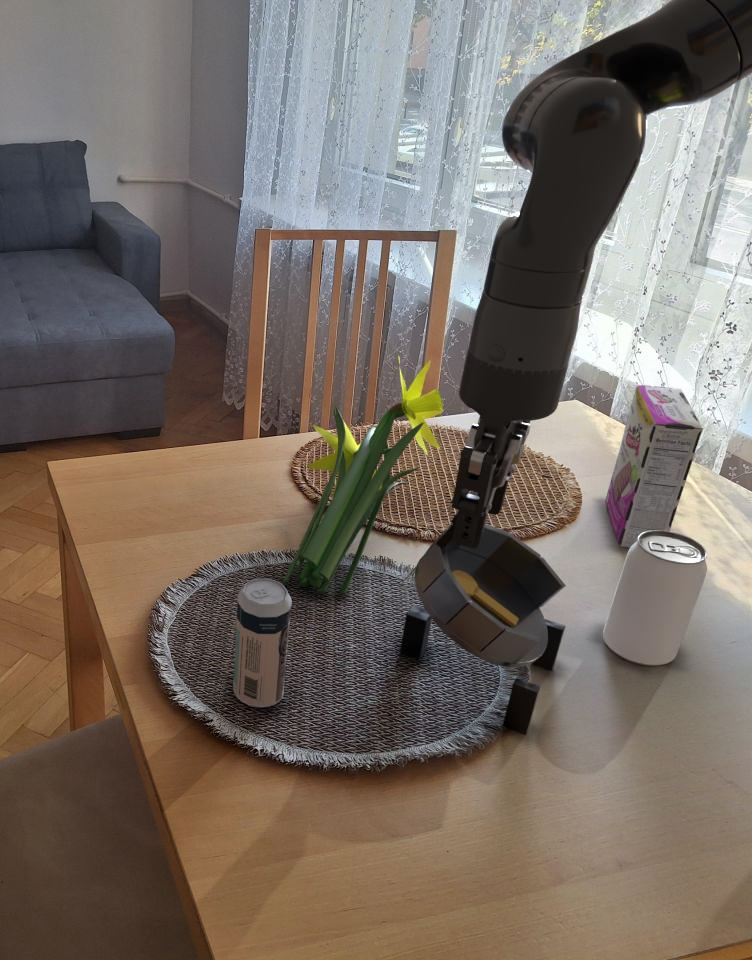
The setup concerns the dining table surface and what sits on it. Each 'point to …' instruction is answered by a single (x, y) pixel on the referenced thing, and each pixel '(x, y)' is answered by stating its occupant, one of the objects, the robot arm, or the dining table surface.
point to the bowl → (505, 578)
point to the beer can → (261, 642)
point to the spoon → (484, 597)
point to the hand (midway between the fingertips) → (476, 526)
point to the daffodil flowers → (359, 485)
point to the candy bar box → (652, 462)
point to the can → (655, 597)
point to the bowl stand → (522, 690)
